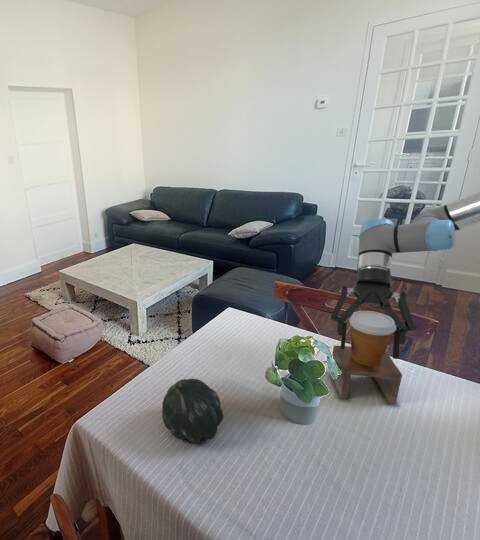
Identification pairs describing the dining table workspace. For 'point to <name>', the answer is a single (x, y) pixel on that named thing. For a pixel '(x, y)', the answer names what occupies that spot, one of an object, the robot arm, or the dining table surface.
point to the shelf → (367, 373)
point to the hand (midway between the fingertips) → (368, 352)
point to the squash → (192, 410)
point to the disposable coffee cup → (370, 336)
